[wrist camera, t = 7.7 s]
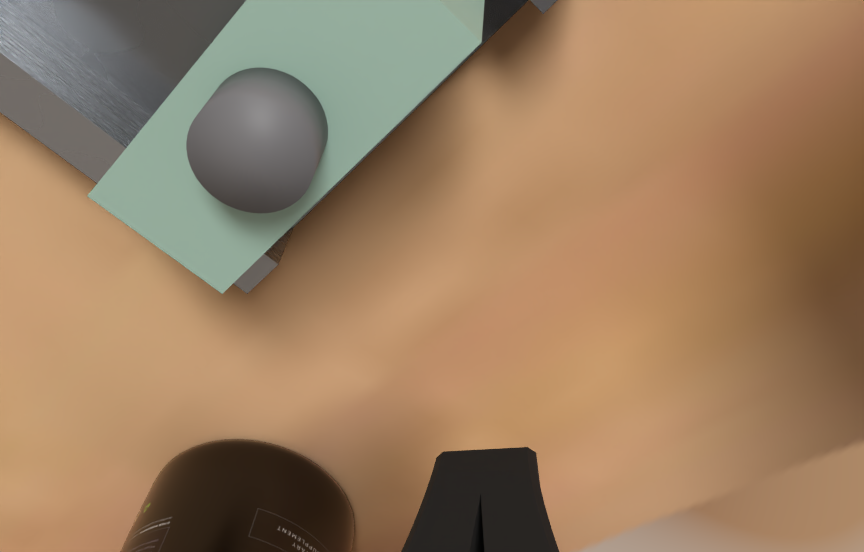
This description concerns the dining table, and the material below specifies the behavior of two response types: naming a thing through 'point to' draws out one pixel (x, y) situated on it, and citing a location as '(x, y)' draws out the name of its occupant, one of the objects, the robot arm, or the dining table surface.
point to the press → (125, 74)
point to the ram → (278, 121)
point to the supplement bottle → (242, 503)
